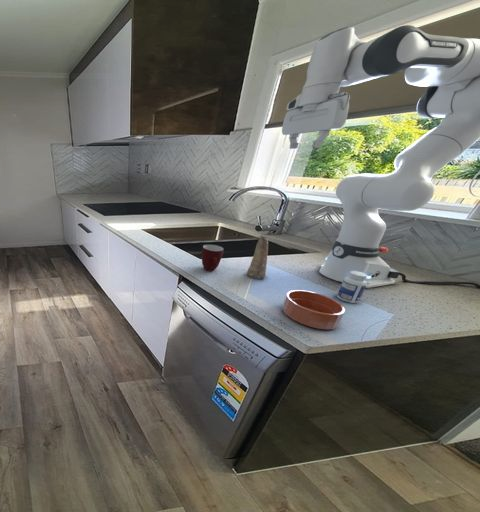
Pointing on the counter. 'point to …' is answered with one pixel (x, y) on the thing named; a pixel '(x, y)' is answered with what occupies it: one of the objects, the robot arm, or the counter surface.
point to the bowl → (313, 309)
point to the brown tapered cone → (259, 259)
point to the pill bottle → (352, 287)
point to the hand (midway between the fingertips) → (304, 148)
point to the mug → (211, 256)
